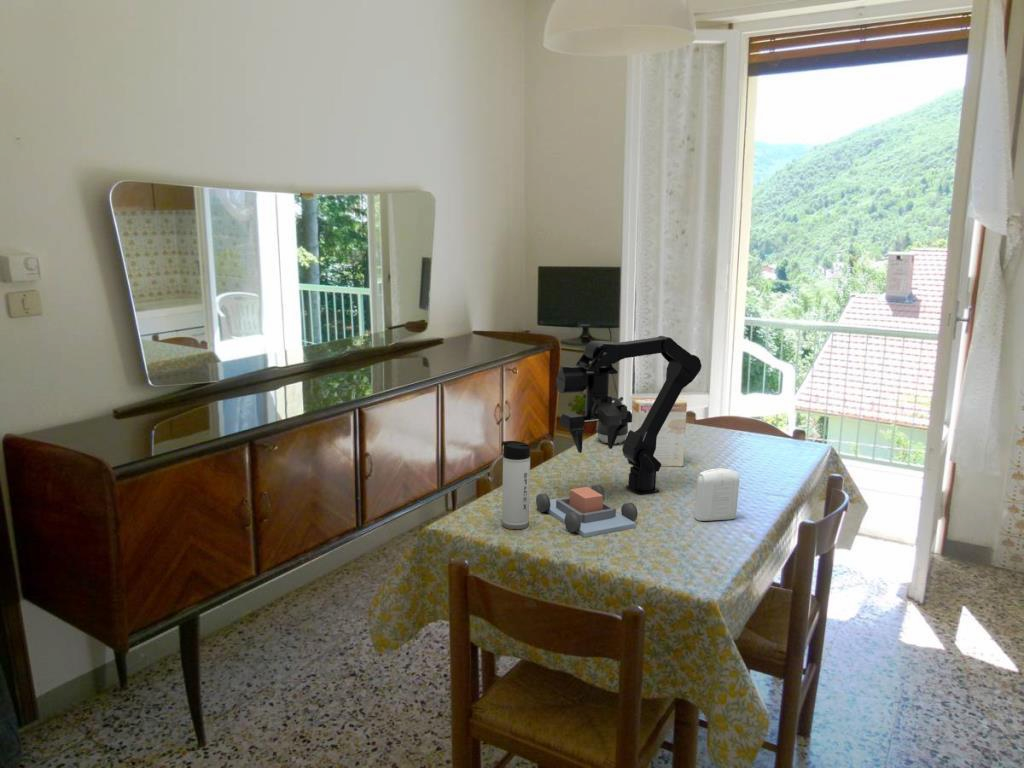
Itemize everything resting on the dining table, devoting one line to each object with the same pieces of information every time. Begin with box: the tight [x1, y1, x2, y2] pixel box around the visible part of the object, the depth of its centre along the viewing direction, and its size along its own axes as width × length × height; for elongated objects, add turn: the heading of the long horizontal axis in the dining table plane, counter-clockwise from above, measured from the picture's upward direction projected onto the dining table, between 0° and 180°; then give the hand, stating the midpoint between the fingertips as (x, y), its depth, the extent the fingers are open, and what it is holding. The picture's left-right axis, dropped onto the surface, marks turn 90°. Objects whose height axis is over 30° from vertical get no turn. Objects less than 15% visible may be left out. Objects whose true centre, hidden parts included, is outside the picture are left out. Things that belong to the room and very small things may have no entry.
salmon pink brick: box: [569, 486, 604, 514], centre depth 182 cm, size 5×7×5 cm
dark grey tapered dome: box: [595, 396, 629, 445], centre depth 246 cm, size 10×10×15 cm
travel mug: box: [501, 440, 531, 530], centre depth 175 cm, size 6×7×20 cm
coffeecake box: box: [630, 397, 688, 467], centre depth 224 cm, size 15×7×20 cm, turn 92°
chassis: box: [535, 484, 639, 538], centre depth 182 cm, size 17×22×4 cm
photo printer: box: [694, 467, 740, 522], centre depth 182 cm, size 10×4×12 cm, turn 103°
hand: (595, 450), depth 195 cm, fingers open, 9 cm apart
